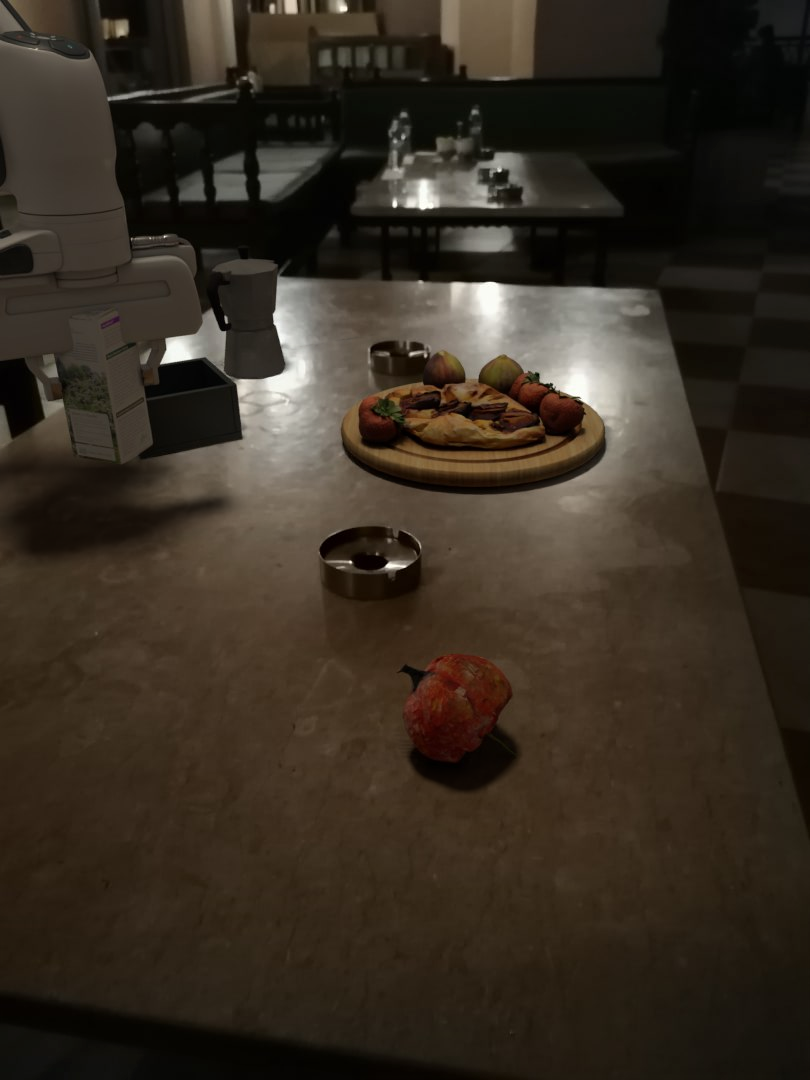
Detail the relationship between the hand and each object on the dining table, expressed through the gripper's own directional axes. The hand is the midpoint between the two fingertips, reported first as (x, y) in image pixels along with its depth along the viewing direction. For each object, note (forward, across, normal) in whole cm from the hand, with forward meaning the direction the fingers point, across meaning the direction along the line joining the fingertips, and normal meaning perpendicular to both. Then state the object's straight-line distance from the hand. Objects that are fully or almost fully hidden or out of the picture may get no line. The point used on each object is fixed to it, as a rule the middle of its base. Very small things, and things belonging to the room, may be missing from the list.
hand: (103, 391), depth 87 cm
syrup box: (+6, 0, 0) cm, 7 cm away
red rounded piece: (+14, -13, +46) cm, 50 cm away
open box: (+14, -11, -21) cm, 27 cm away
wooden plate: (+14, -42, -1) cm, 45 cm away
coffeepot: (+14, -27, -39) cm, 50 cm away
